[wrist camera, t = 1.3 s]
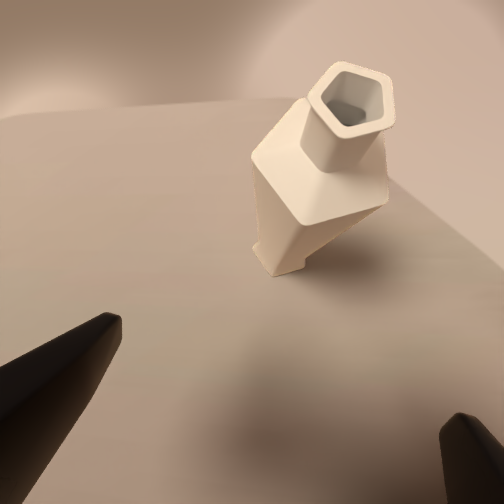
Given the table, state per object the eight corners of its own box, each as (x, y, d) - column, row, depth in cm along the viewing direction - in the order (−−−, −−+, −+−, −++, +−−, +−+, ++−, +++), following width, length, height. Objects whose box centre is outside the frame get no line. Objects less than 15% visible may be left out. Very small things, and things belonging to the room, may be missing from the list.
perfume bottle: (289, 296, 21) (389, 229, 7) (238, 257, 22) (228, 118, 7) (327, 244, 22) (486, 88, 8) (277, 209, 23) (338, -2, 8)
